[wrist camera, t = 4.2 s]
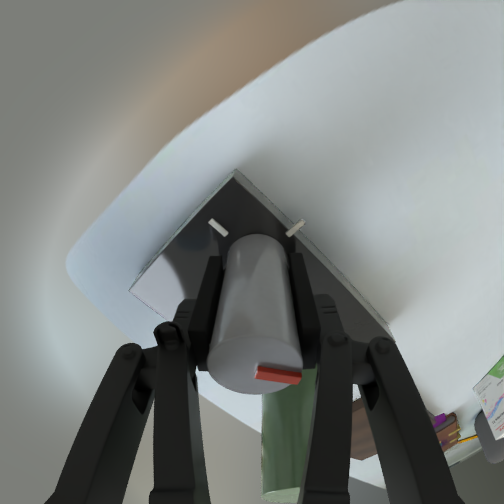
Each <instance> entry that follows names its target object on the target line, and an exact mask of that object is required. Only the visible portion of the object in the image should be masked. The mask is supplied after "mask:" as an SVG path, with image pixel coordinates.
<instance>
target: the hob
mask: <svg viewBox="0 0 504 504" xmlns="http://www.w3.org/2000/svg"><path fill="white" fill-rule="evenodd" d="M305 223H306V222H305V221H304V220H303V219H301V220H300V221H298V222H297V223H296V224H295V225H294V224H293V223H292V222H291V221H290V220H289V219H288V218H287V217H286V216H285V215H284V214H283V213H282V212H281V211H280V210H279V209H278V208H277V207H276V206H275V205H274V204H273V203H272V202H271V201H270V200H269V199H268V198H267V197H266V196H265V195H264V194H263V193H262V192H260V191H259V190H258V189H257V188H256V187H255V186H254V185H253V184H252V183H251V182H250V181H249V180H248V179H247V178H246V177H245V176H244V175H243V174H242V173H241V172H240V171H238V170H237V169H235V170H234V171H233V172H232V173H231V174H230V175H229V176H228V177H227V178H226V179H225V180H224V181H223V182H222V183H221V184H220V185H219V186H218V187H217V188H216V189H215V190H214V191H213V192H212V193H211V194H210V195H209V196H208V197H207V198H206V200H205V201H204V202H203V203H202V204H201V205H200V206H199V207H198V208H197V209H196V210H195V211H194V212H193V213H192V214H191V215H190V217H189V218H188V219H187V220H186V221H185V222H184V223H183V224H182V225H181V226H180V227H179V229H178V230H177V231H176V232H175V233H174V234H173V235H172V236H171V237H170V239H169V240H168V241H167V242H166V243H165V244H164V245H163V246H162V248H161V249H160V250H159V251H158V252H157V253H156V254H155V256H154V257H153V258H152V259H151V260H150V261H149V263H148V264H147V265H146V266H145V267H144V268H143V270H142V271H141V272H140V273H139V274H138V276H137V278H136V279H135V281H134V282H133V284H132V286H131V287H130V289H129V292H131V293H132V294H133V295H134V296H136V297H137V298H138V299H139V300H141V301H142V302H143V303H145V304H146V305H147V306H148V307H150V308H151V309H152V310H154V311H155V312H156V313H158V314H159V315H160V316H162V317H163V318H165V319H166V320H167V321H173V318H174V315H175V313H176V310H177V307H178V305H179V304H180V303H181V302H182V301H183V300H184V299H197V296H198V293H199V289H200V286H201V283H202V279H203V276H204V273H205V270H206V266H207V263H208V260H209V257H210V256H222V260H223V268H225V263H226V258H227V254H228V251H229V249H230V247H231V246H232V245H233V243H234V242H236V241H237V240H238V239H240V238H242V237H244V236H247V235H251V234H263V235H267V236H270V237H272V238H274V239H275V240H277V241H278V242H279V243H280V244H281V245H282V246H283V248H284V250H285V252H286V255H287V260H288V266H289V253H302V254H303V258H304V262H305V266H306V269H307V273H308V277H309V281H310V285H311V288H312V292H313V295H318V294H329V295H330V296H331V297H332V298H333V299H334V301H335V304H336V307H337V310H338V313H339V316H340V319H341V322H342V325H343V329H344V331H345V333H347V334H348V335H349V336H350V338H351V339H352V340H355V341H358V342H364V343H369V342H370V340H372V339H373V338H375V337H378V336H384V337H387V338H390V339H391V340H393V341H394V343H395V342H396V341H395V339H394V337H393V335H392V333H391V331H390V329H389V326H388V325H387V323H386V322H385V321H384V320H383V319H382V318H381V317H380V315H379V314H378V313H377V312H376V311H375V310H374V309H373V308H372V306H371V305H370V304H369V303H368V302H367V301H366V300H365V299H364V298H363V297H362V295H361V294H360V293H359V292H358V291H357V290H356V289H355V288H354V287H353V286H352V285H351V283H350V282H349V281H348V280H347V279H346V278H345V277H344V276H343V275H342V274H341V273H340V272H339V271H338V269H337V268H336V267H335V266H334V265H333V264H332V263H331V262H330V261H329V260H328V259H327V258H326V257H325V256H324V255H323V254H322V253H321V252H320V251H319V250H318V248H317V247H316V246H315V245H314V244H313V243H312V242H311V241H310V240H309V239H308V238H307V237H306V236H305V235H304V234H303V233H302V232H301V231H300V230H299V229H300V228H301V227H302V226H303V225H304V224H305Z"/></svg>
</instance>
